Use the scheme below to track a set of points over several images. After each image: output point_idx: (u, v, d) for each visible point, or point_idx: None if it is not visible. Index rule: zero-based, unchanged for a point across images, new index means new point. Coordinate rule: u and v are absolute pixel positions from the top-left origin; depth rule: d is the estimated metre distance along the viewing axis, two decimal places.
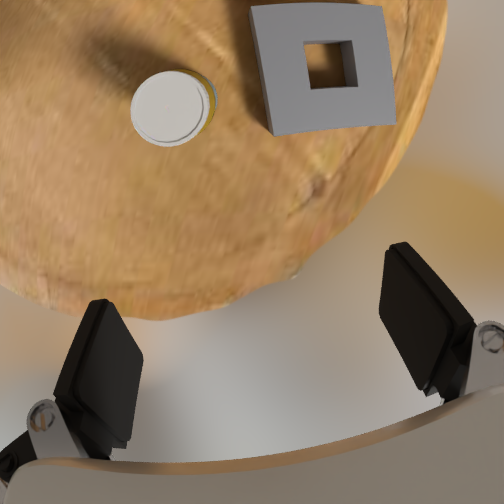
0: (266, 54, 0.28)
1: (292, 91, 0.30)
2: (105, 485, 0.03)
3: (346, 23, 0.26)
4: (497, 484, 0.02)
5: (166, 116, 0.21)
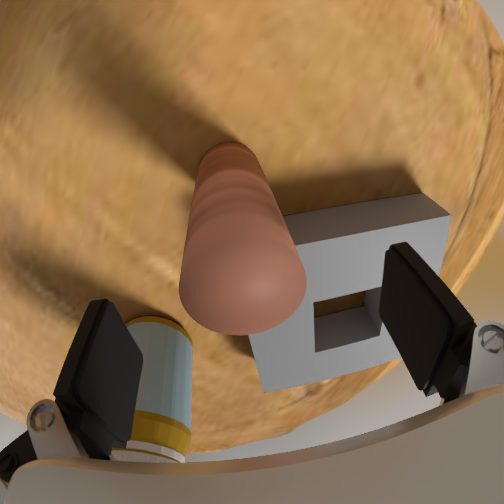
0: None
1: (290, 358, 0.24)
2: (105, 485, 0.03)
3: None
4: (497, 484, 0.02)
5: None
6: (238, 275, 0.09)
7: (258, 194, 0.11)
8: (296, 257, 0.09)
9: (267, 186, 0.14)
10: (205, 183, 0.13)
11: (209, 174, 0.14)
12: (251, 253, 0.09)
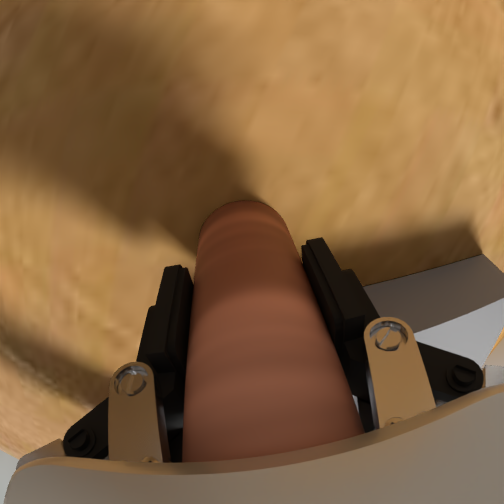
0: None
1: None
2: (105, 485, 0.03)
3: None
4: (497, 484, 0.02)
5: None
6: None
7: (320, 383, 0.05)
8: None
9: (321, 320, 0.07)
10: (210, 320, 0.07)
11: (216, 293, 0.08)
12: None
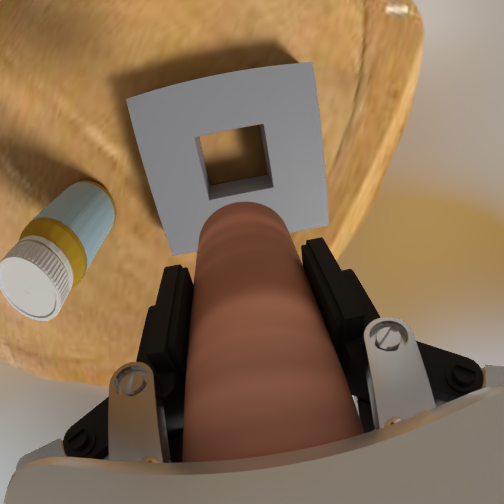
0: (150, 162, 0.25)
1: (186, 204, 0.27)
2: (105, 485, 0.03)
3: (255, 100, 0.23)
4: (497, 484, 0.02)
5: (28, 296, 0.18)
6: None
7: (320, 385, 0.05)
8: None
9: (321, 322, 0.07)
10: (210, 322, 0.07)
11: (217, 295, 0.08)
12: None
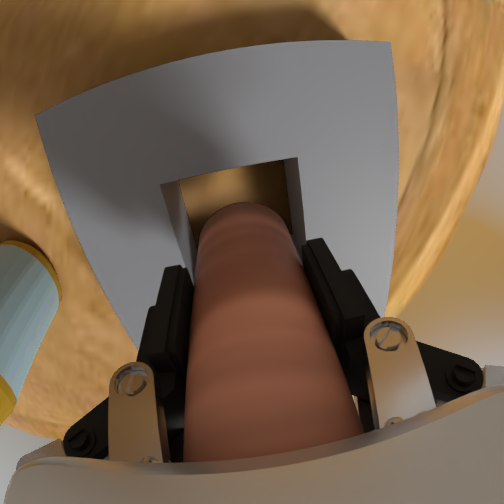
0: (86, 230, 0.13)
1: (156, 298, 0.16)
2: (105, 485, 0.03)
3: (283, 108, 0.11)
4: (497, 484, 0.02)
5: None
6: None
7: (320, 386, 0.05)
8: None
9: (321, 323, 0.07)
10: (211, 323, 0.07)
11: (217, 296, 0.08)
12: None
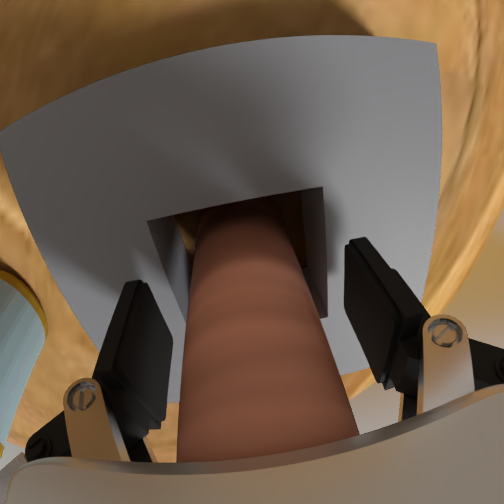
0: (63, 272, 0.11)
1: None
2: (105, 485, 0.03)
3: (307, 122, 0.09)
4: (497, 484, 0.02)
5: None
6: None
7: (299, 331, 0.07)
8: None
9: (304, 286, 0.09)
10: (207, 284, 0.08)
11: (213, 262, 0.09)
12: None
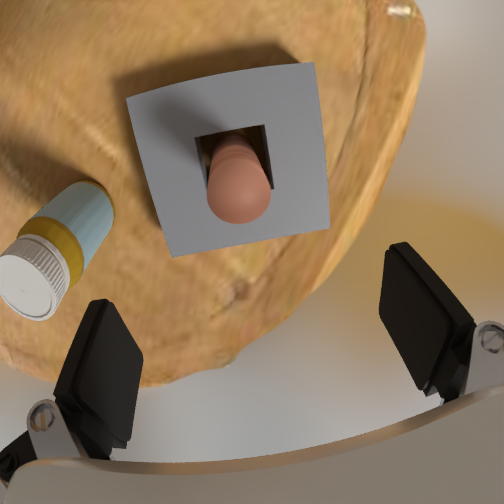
0: (149, 163, 0.25)
1: (186, 206, 0.27)
2: (105, 485, 0.03)
3: (256, 100, 0.23)
4: (497, 484, 0.02)
5: (24, 295, 0.18)
6: (236, 184, 0.18)
7: (248, 154, 0.21)
8: (264, 176, 0.18)
9: (254, 154, 0.23)
10: (219, 152, 0.23)
11: (221, 148, 0.23)
12: (242, 173, 0.18)
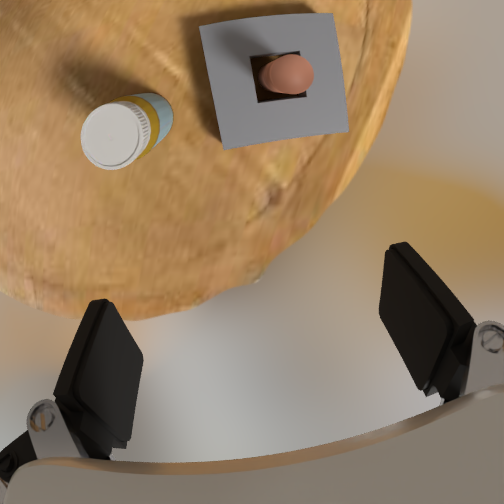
0: (214, 72, 0.30)
1: (239, 106, 0.33)
2: (105, 485, 0.03)
3: (294, 34, 0.28)
4: (497, 484, 0.02)
5: (109, 143, 0.23)
6: (291, 67, 0.24)
7: None
8: (309, 63, 0.24)
9: None
10: (270, 62, 0.28)
11: None
12: (295, 60, 0.24)
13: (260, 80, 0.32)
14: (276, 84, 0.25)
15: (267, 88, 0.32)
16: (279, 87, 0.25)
